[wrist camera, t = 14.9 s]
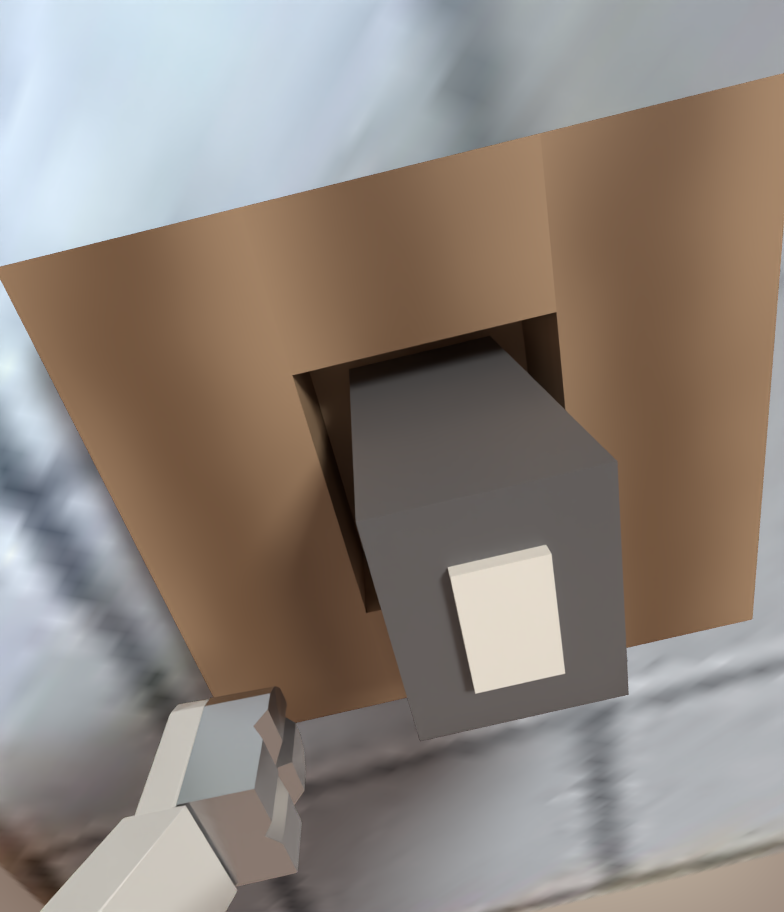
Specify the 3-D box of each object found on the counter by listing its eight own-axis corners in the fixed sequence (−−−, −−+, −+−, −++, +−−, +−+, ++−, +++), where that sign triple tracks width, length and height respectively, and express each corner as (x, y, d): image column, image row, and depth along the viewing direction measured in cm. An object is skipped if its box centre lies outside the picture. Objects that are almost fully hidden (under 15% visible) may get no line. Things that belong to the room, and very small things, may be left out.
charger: (489, 335, 16) (625, 468, 8) (511, 489, 18) (634, 705, 10) (349, 369, 16) (355, 531, 8) (388, 518, 18) (421, 753, 10)
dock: (693, 97, 14) (795, 69, 11) (687, 551, 20) (752, 619, 17) (71, 250, 14) (-6, 267, 11) (250, 652, 20) (233, 736, 17)
